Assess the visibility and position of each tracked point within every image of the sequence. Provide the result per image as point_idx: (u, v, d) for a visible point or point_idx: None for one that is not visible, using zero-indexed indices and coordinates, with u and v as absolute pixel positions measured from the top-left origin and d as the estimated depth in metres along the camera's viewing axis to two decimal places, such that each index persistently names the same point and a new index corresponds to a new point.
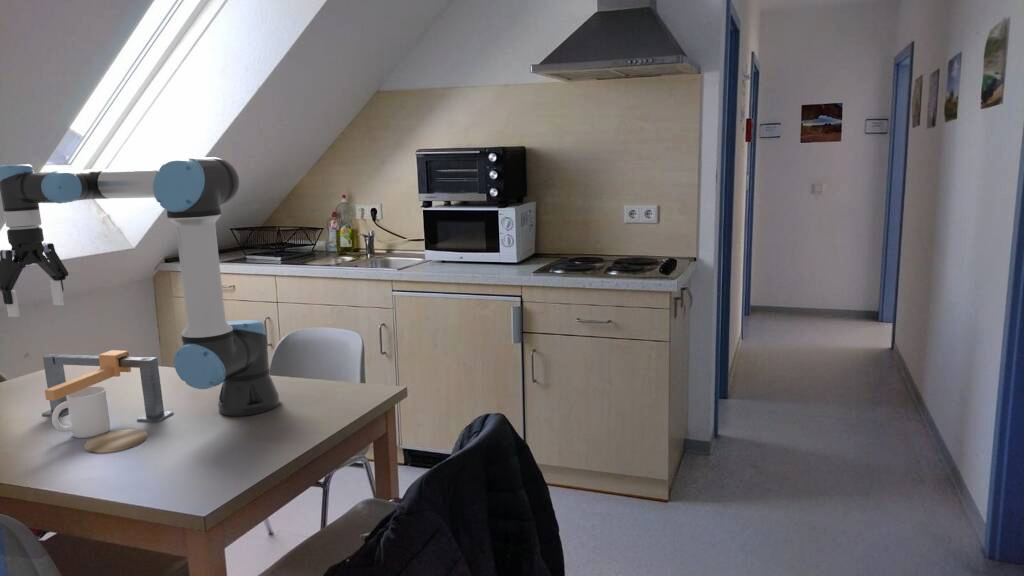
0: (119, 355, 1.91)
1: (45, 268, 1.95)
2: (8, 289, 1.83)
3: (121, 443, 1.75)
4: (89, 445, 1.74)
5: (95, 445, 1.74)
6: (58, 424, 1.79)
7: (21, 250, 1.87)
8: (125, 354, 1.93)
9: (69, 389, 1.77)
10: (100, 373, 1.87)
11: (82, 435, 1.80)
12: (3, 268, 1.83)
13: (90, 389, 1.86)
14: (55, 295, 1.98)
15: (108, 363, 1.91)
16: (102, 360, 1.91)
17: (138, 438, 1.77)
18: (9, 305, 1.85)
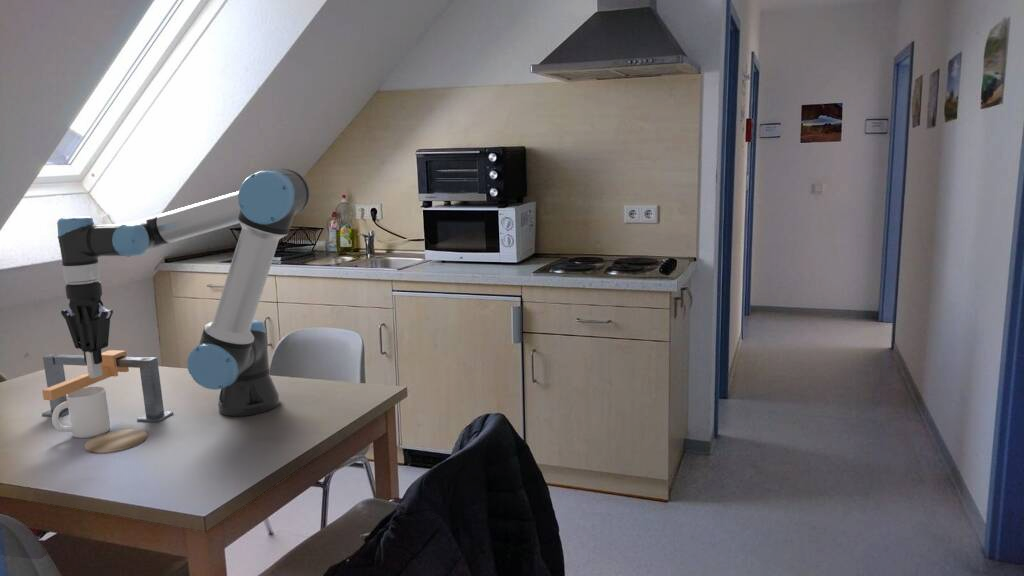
0: (117, 355, 1.91)
1: None
2: (83, 350, 1.83)
3: (121, 443, 1.75)
4: (89, 445, 1.74)
5: (95, 445, 1.74)
6: (58, 424, 1.79)
7: (71, 304, 1.81)
8: (123, 354, 1.93)
9: (67, 389, 1.78)
10: None
11: (82, 435, 1.80)
12: None
13: (90, 389, 1.86)
14: None
15: (106, 363, 1.91)
16: None
17: (138, 438, 1.77)
18: None
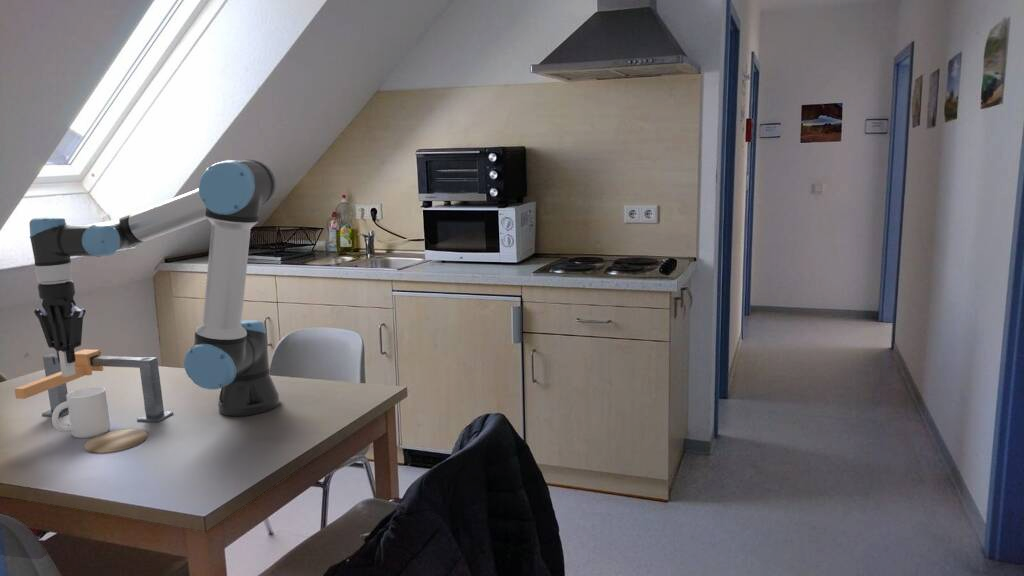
0: (91, 354, 1.93)
1: None
2: (56, 349, 1.85)
3: (121, 443, 1.75)
4: (89, 445, 1.74)
5: (95, 445, 1.74)
6: (58, 424, 1.79)
7: (44, 303, 1.83)
8: (97, 353, 1.95)
9: (39, 388, 1.79)
10: None
11: (82, 435, 1.80)
12: None
13: (90, 389, 1.86)
14: None
15: (80, 362, 1.93)
16: None
17: (138, 438, 1.77)
18: None
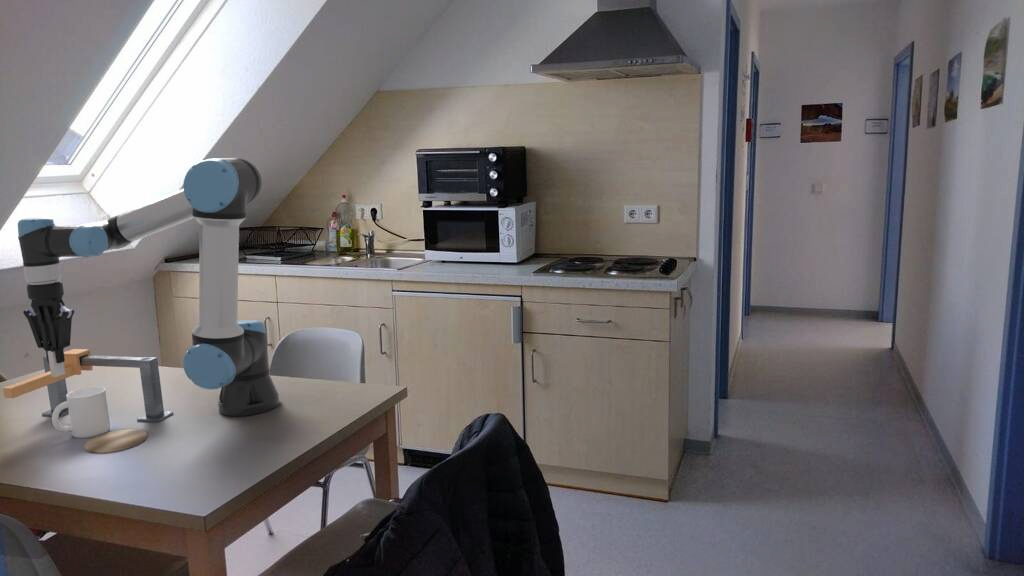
0: (80, 354, 1.94)
1: None
2: (45, 349, 1.86)
3: (121, 443, 1.75)
4: (89, 445, 1.74)
5: (95, 445, 1.74)
6: (58, 424, 1.79)
7: (33, 304, 1.84)
8: (86, 353, 1.96)
9: (28, 387, 1.80)
10: None
11: (82, 435, 1.80)
12: None
13: (90, 389, 1.86)
14: None
15: (69, 362, 1.93)
16: None
17: (138, 438, 1.77)
18: None
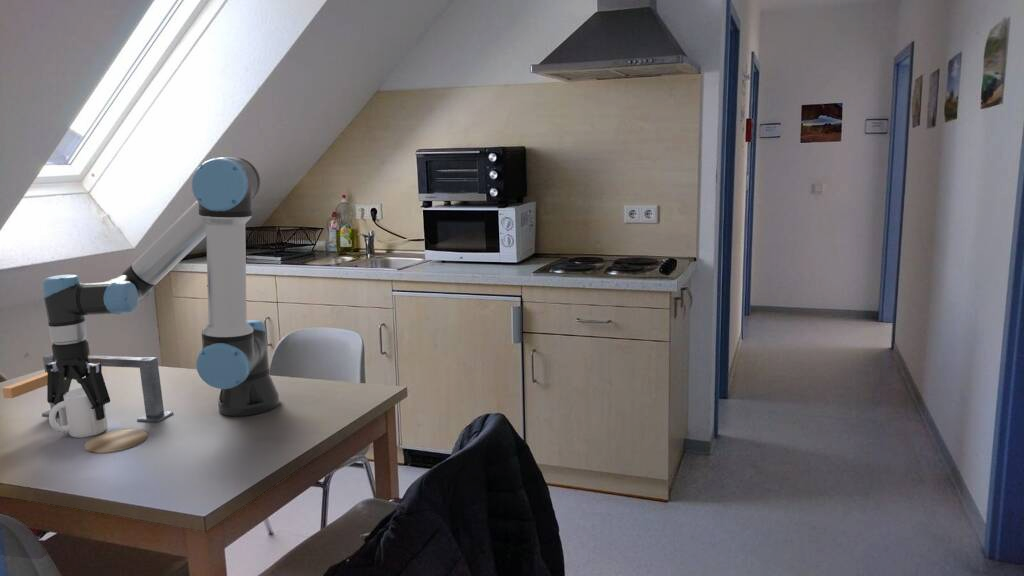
0: None
1: None
2: (55, 404, 1.82)
3: (121, 443, 1.75)
4: (89, 445, 1.74)
5: (95, 445, 1.74)
6: (55, 424, 1.79)
7: (58, 363, 1.79)
8: None
9: (27, 387, 1.80)
10: None
11: (79, 435, 1.80)
12: None
13: None
14: None
15: None
16: None
17: (138, 438, 1.77)
18: None
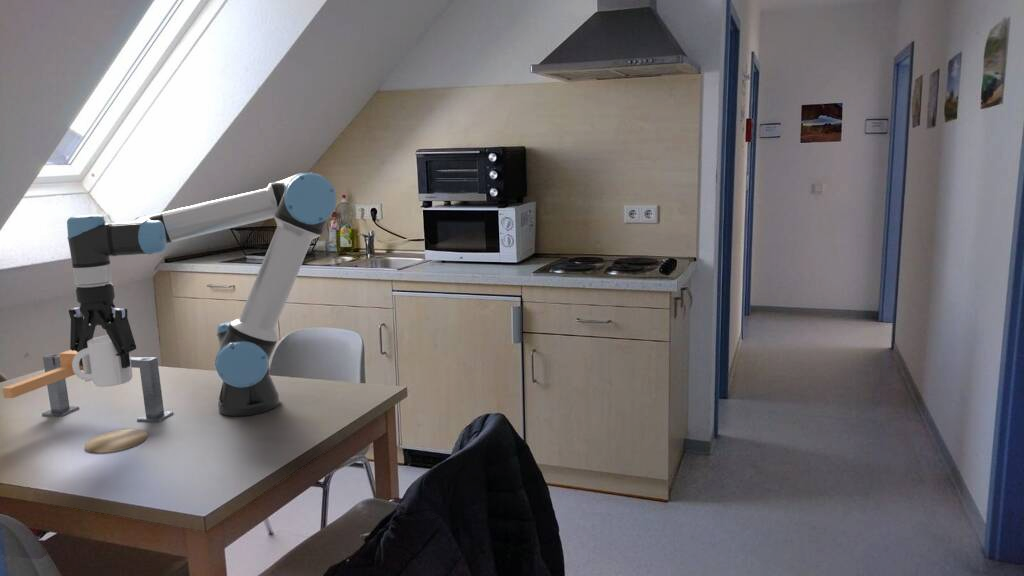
0: None
1: None
2: None
3: (121, 443, 1.75)
4: (89, 445, 1.74)
5: (95, 445, 1.74)
6: (79, 371, 1.71)
7: (82, 308, 1.71)
8: None
9: (27, 387, 1.80)
10: (60, 371, 1.89)
11: (104, 383, 1.72)
12: None
13: None
14: None
15: (69, 361, 1.93)
16: (63, 358, 1.94)
17: (138, 438, 1.77)
18: None
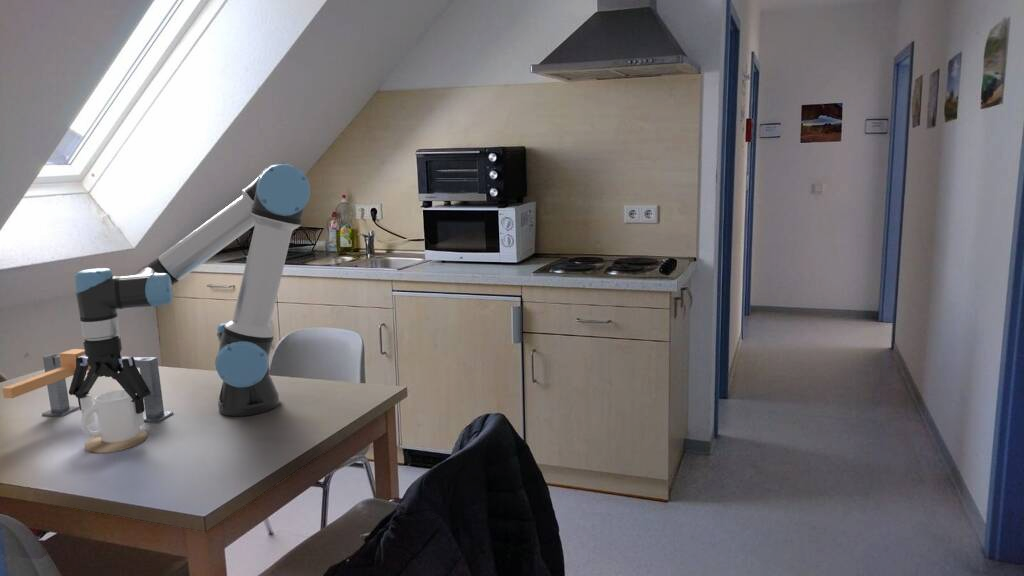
0: (79, 354, 1.94)
1: None
2: (76, 395, 1.76)
3: (121, 443, 1.75)
4: (89, 445, 1.74)
5: (95, 445, 1.74)
6: (87, 429, 1.73)
7: (90, 360, 1.73)
8: None
9: (27, 387, 1.80)
10: (60, 371, 1.89)
11: (112, 440, 1.75)
12: None
13: (118, 392, 1.81)
14: None
15: (69, 361, 1.93)
16: (63, 358, 1.94)
17: (138, 438, 1.77)
18: None
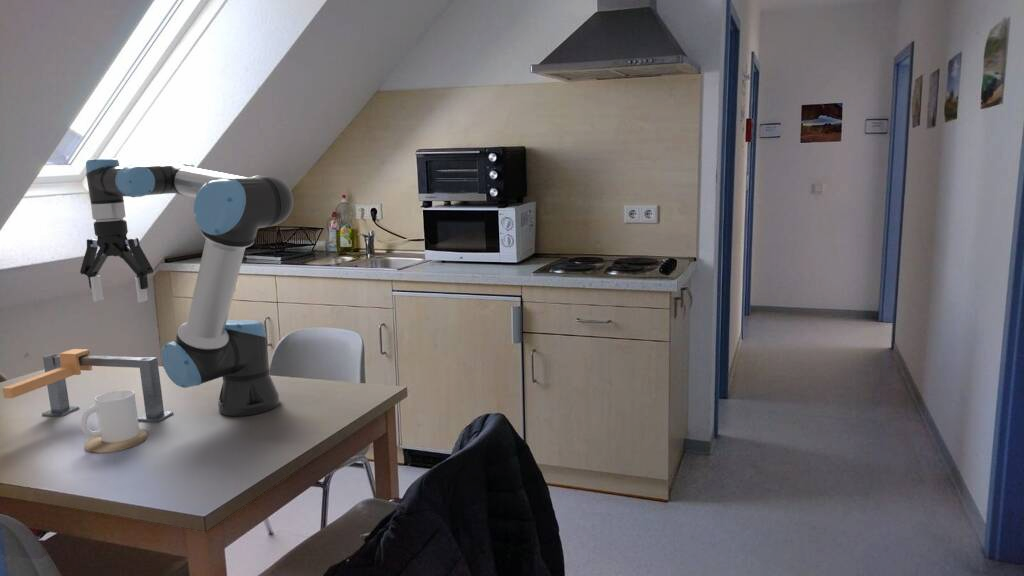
0: (79, 354, 1.94)
1: None
2: (87, 274, 1.97)
3: (121, 443, 1.75)
4: (89, 445, 1.74)
5: (95, 445, 1.74)
6: (87, 429, 1.73)
7: (99, 241, 1.94)
8: (86, 353, 1.96)
9: (27, 387, 1.80)
10: (60, 371, 1.89)
11: (112, 440, 1.75)
12: None
13: (118, 392, 1.81)
14: None
15: (69, 361, 1.93)
16: (63, 358, 1.94)
17: (138, 438, 1.77)
18: None
